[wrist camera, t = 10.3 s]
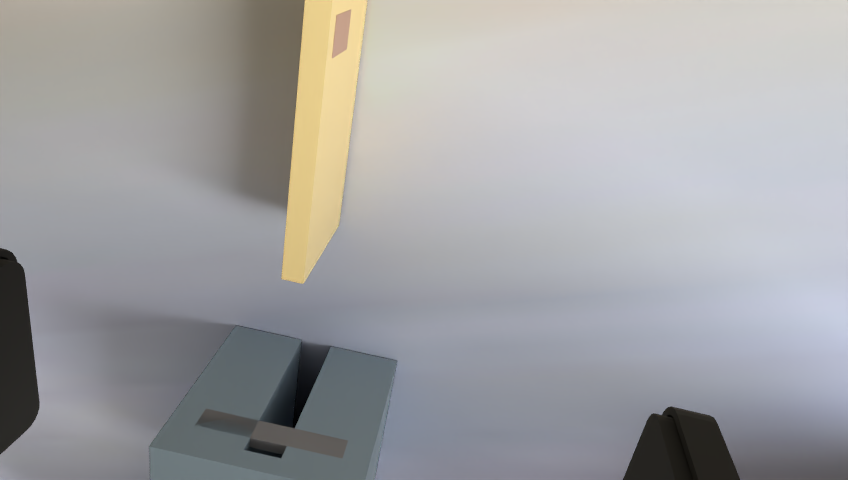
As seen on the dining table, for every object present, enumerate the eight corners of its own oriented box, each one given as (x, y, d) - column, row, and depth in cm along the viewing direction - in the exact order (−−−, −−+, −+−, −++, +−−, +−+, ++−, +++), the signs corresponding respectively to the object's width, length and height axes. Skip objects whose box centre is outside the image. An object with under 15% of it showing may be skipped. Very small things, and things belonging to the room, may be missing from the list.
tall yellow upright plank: (369, -14, 28) (333, -3, 22) (339, 225, 33) (303, 283, 28) (347, -19, 28) (305, -9, 22) (320, 221, 33) (281, 279, 28)
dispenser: (397, 360, 37) (361, 494, 28) (373, 482, 41) (336, 631, 32) (236, 325, 37) (149, 446, 28) (230, 449, 42) (153, 588, 33)
